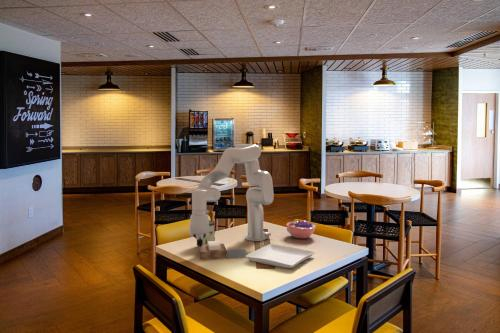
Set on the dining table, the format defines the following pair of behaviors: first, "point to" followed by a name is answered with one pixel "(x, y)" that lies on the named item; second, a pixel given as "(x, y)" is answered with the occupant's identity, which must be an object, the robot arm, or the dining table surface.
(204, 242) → the coffee can
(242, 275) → the dining table surface
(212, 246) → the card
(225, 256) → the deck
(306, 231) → the cell model
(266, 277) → the dining table surface
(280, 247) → the square plate
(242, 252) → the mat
